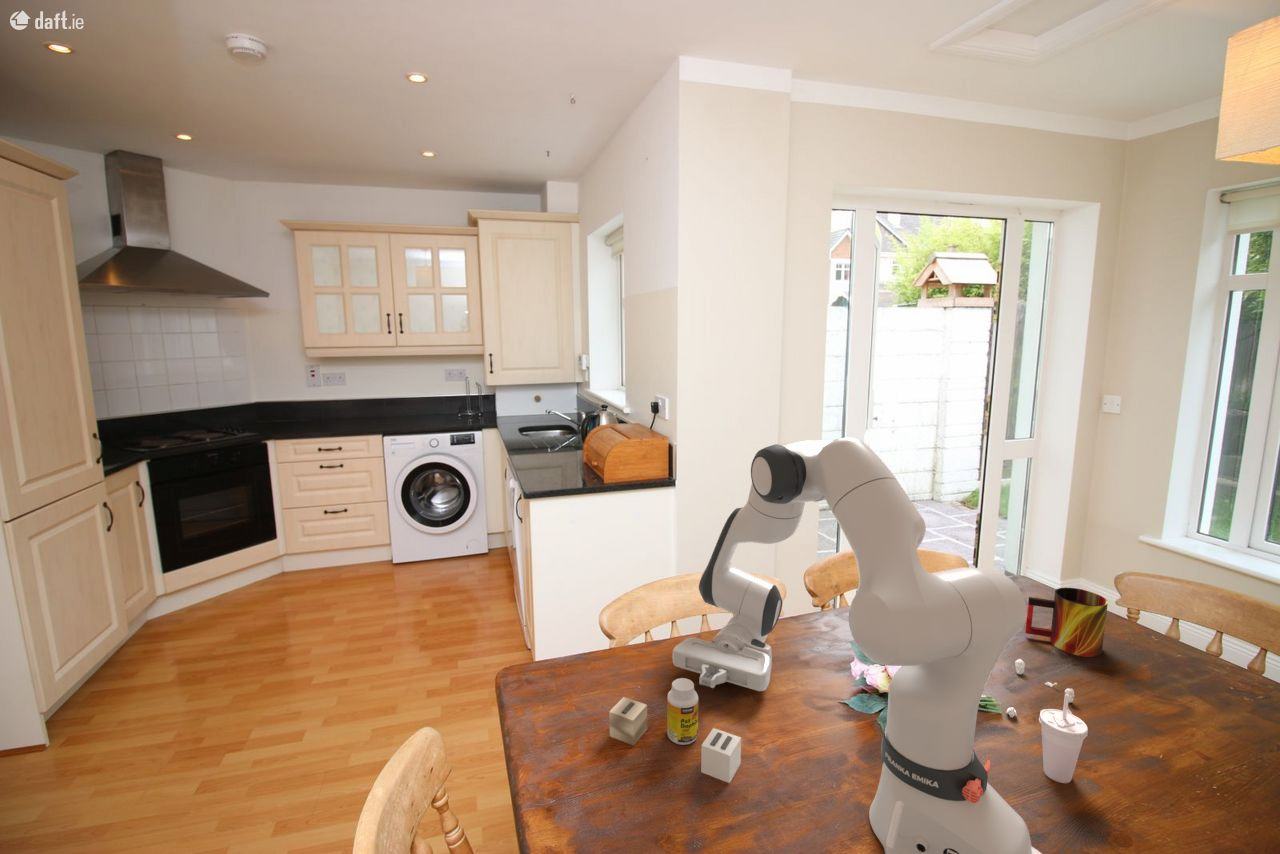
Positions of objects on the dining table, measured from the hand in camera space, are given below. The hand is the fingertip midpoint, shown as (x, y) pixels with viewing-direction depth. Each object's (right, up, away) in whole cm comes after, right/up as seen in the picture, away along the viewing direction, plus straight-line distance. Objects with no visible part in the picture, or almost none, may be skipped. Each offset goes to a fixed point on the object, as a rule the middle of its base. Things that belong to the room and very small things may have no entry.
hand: (706, 682), depth 114 cm
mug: (+85, -1, +21) cm, 88 cm away
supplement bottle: (-5, -6, -8) cm, 11 cm away
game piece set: (+62, -4, +4) cm, 63 cm away
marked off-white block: (+1, -7, -16) cm, 17 cm away
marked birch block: (-15, -6, -7) cm, 17 cm away
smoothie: (+55, -7, -18) cm, 59 cm away
